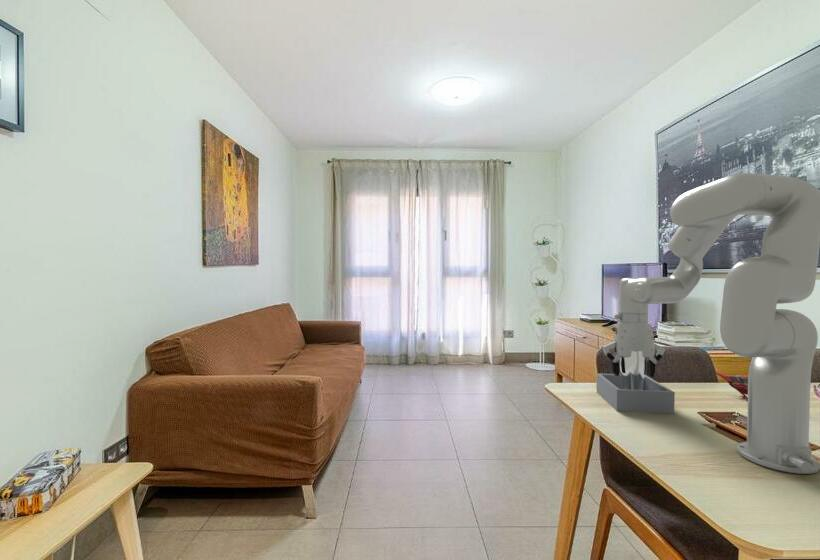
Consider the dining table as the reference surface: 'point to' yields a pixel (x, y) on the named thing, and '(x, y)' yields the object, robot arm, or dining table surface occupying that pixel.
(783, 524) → the dining table surface
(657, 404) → the box
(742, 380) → the decorative bird figurine
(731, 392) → the dining table surface
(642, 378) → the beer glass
